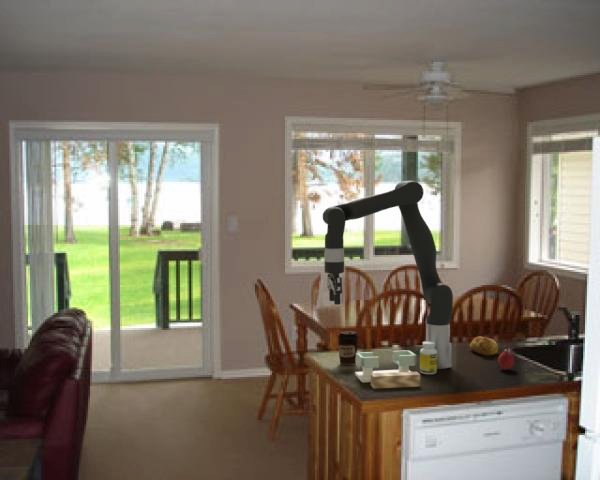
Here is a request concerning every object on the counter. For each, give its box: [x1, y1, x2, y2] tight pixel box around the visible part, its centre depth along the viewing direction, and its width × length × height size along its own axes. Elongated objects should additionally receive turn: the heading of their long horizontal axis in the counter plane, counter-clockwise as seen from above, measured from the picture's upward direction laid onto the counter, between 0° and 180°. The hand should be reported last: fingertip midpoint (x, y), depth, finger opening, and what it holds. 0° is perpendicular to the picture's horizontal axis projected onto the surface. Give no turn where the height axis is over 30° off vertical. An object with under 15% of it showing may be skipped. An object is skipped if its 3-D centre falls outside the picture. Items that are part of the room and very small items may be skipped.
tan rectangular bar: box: [370, 371, 421, 389], centre depth 232 cm, size 17×4×4 cm, turn 98°
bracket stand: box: [354, 349, 417, 383], centre depth 242 cm, size 21×10×9 cm, turn 100°
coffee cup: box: [337, 330, 359, 366], centre depth 261 cm, size 9×8×13 cm
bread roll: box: [469, 335, 499, 356], centre depth 279 cm, size 13×10×8 cm
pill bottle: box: [419, 340, 438, 375], centre depth 248 cm, size 6×6×12 cm
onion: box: [497, 349, 515, 371], centre depth 252 cm, size 6×6×8 cm
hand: (334, 302), depth 246 cm, fingers open, 8 cm apart
